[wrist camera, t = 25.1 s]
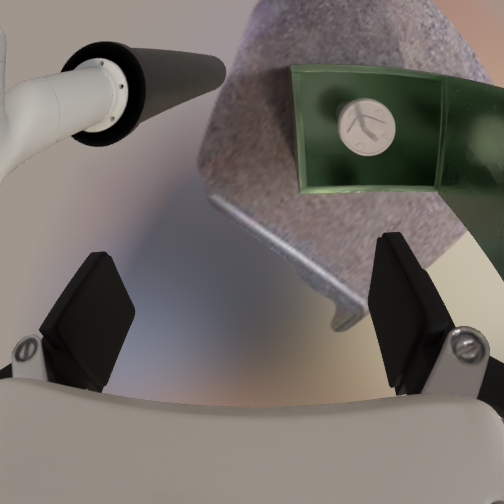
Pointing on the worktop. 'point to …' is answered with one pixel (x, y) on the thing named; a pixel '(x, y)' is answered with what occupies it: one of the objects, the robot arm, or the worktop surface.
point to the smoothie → (365, 126)
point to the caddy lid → (476, 163)
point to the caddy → (348, 162)
